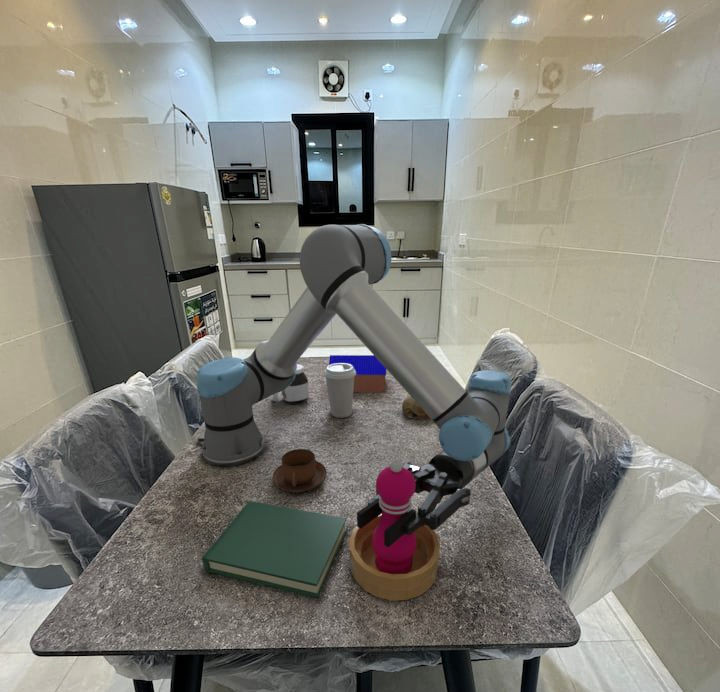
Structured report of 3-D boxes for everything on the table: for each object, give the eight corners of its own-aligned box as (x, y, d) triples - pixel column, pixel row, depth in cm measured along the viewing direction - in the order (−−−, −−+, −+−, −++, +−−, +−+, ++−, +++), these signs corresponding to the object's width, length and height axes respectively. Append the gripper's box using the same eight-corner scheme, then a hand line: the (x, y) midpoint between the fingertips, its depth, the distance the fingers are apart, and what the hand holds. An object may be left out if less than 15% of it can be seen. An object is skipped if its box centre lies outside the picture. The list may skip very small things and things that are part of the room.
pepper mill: (403, 587, 60) (407, 481, 52) (364, 568, 64) (362, 466, 55) (422, 556, 66) (428, 456, 58) (385, 540, 69) (386, 444, 61)
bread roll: (399, 424, 119) (396, 408, 113) (407, 400, 125) (405, 383, 119) (431, 430, 115) (429, 413, 110) (438, 404, 121) (437, 387, 116)
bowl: (339, 590, 60) (337, 566, 58) (363, 526, 73) (363, 505, 71) (432, 612, 56) (435, 587, 54) (441, 541, 69) (443, 519, 67)
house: (333, 380, 146) (332, 350, 141) (386, 380, 144) (386, 350, 140) (329, 392, 135) (327, 360, 130) (386, 392, 133) (386, 360, 129)
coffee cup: (353, 421, 114) (352, 373, 108) (322, 418, 116) (319, 371, 110) (359, 407, 122) (358, 362, 116) (330, 405, 124) (328, 361, 118)
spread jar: (312, 402, 127) (310, 369, 122) (281, 411, 121) (277, 376, 116) (297, 391, 136) (294, 359, 131) (266, 398, 130) (262, 366, 125)
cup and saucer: (332, 491, 83) (330, 467, 81) (276, 502, 80) (272, 477, 78) (321, 462, 94) (319, 440, 91) (271, 470, 91) (268, 448, 88)
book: (204, 571, 64) (201, 557, 63) (251, 512, 77) (249, 500, 76) (317, 598, 59) (316, 584, 58) (346, 530, 72) (346, 518, 71)
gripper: (499, 503, 68) (419, 583, 53) (417, 464, 79) (333, 520, 64) (504, 467, 65) (422, 541, 50) (418, 432, 76) (331, 483, 61)
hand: (372, 529), depth 57 cm, fingers closed on pepper mill, 5 cm apart
